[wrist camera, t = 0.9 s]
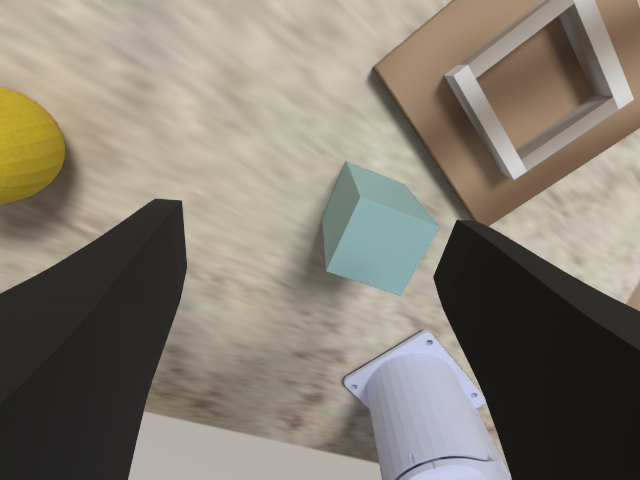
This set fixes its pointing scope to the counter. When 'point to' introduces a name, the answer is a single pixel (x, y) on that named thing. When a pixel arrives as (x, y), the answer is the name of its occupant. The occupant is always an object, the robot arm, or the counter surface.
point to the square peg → (375, 230)
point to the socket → (518, 92)
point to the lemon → (27, 147)
